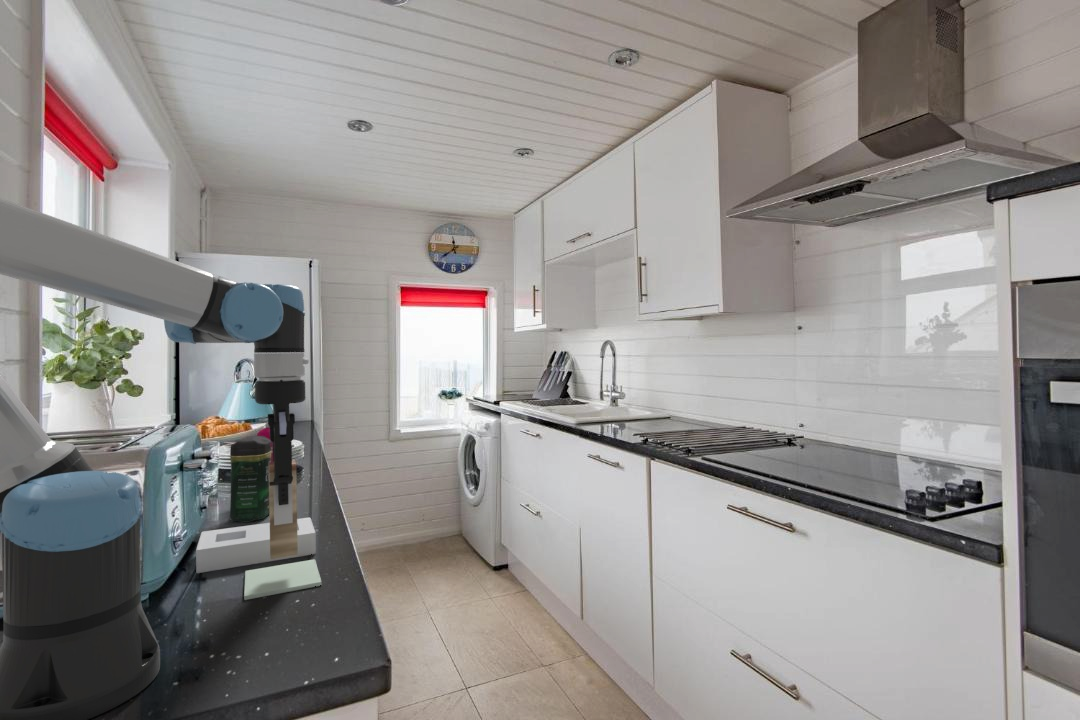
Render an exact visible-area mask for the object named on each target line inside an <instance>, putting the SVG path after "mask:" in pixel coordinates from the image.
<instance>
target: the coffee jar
mask: <svg viewBox="0 0 1080 720" xmlns="http://www.w3.org/2000/svg"><path fill="white" fill-rule="evenodd" d="M229 455H230V456H229V458H230V504H229V505H230V507H229V513H230V514H229V517H230V520H231V521H233V522H240V523H250V522H252V521H256V520H263V519H264V518H266V517H267V516H268V515H269V462H271V441H270V440H269V439H268V438H266V437H265V436H257V435H252V436H251V435H250V436H247V437H246V438H242V439H239V440H238V441H235V442H234V443H232V444H231V445H230V453H229Z"/></svg>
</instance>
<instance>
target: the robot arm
mask: <svg viewBox="0 0 1080 720" xmlns="http://www.w3.org/2000/svg"><path fill="white" fill-rule="evenodd" d="M0 275H2V276H5V277H9V278H13V279H16V280H20V281H24V282H27V283H31V284H34V285H38V286H42V287H45V288H49V289H52V290H56V291H59V292H62V293H63V292H64V293H67V294H71V295H74V296H78V297H81V298H84V299H88V300H92V301H94V302H98V303H103V304H106V305H110V306H113V307H117V308H120V309H124V310H129V311H132V312H136V313H140V314H142V315H145V316H149V317H153V318H158V319H160V320H163V324H164V329H165V333H166V335H167V337H168V338H169V340H170V341H172V342H173V343H189V344H193V345H195V344H198V343H199V344H233V343H234V344H236V343H237V344H239V343H242V344H243V343H244V344H253V345H254V350H253V352H254V353H253V365H254V368H253V371H254V372H253V373H254V376H253V377H255V378H258V381H256V383H254V393H255V395H254V397H255V398H254V399H255V400H254V401H255V403H256V404H258V405H272V413H268V414H267V422H268V425H269V427H270V441H271V442H272V445H273V462H274V477H275V478H274V482H269V486H273V487H274V525H281V524H288V523H293V511H292V481H293V476H292V460H293V455H292V454H293V450H292V449H293V446H292V445H293V443H292V441H294V439H295V438H294V437H295V436H294V435H295V434H294V424H295V423H296V419H295V418H296V417H295V414H294V412H290V404H298V403H303V402H305V401H306V381H305V380H304V379H301V378H303V377H304V376H305V375H306V374H305V372H306V369H305V365H308V364H309V361H310V360H309V359H308V358H304V357H305V316H306V312H305V301H304V294H303V291H302V290H301V289H300V287H297V286H295V285H289V284H279V283H278V284H274V283H264V284H260V283H255V282H237V281H234V280H232V279H229V278H227V277H224V276H220V275H217V274H213V273H212V272H209V271H206V270H203V269H201V268H197V267H195V266H192V265H189V264H186V263H183V262H180V261H177V260H175V259H172V258H169V257H167V256H163V255H162V254H159V253H156V252H153V251H150V250H146V249H145V248H141V247H139V246H136V245H133V244H130V243H127V242H125V241H122V240H119V239H116V238H114V237H110V236H108V235H105V234H102V233H99V232H96V231H93V230H91V229H88V228H86V227H83V226H80V225H77V224H73V223H72V222H69V221H66V220H63V219H60V218H57V217H55V216H52V215H48V214H46V213H43V212H41V211H37V210H35V209H33V208H29V207H26V206H24V205H21V204H17V203H15V202H12V201H10V200H7V199H4V198H2V197H0ZM142 509H143V503H142V499H141V497H140V489H139V486H138V484H137V482H136V481H135V480H134V479H133V478H132V477H130V476H128V475H126V474H123V473H119V472H114V471H112V472H108V471H105V470H94V469H93V468H92V466H91V465H90V464H89V463H88V461H87V460H86V459H85V457H84V456H83V454H81V452H80V451H79V450H78V449H77V447H76V446H75V444H73V443H70V442H63V441H62V442H61V441H55V440H53V439H51V437H50V436H49V435H48V434H47V432H46V431H45V430H44V428H43V427H42V426H41V425H40V424H39V422H38V421H37V420H36V418H35V417H34V416H33V414H32V413H31V412H30V411H29V409H28V407H26V405H25V404H24V403H23V401H22V400H21V399H20V398H19V396H18V395H17V393H16V392H15V391H14V390H13V388H12V387H11V386H10V385H9V383H8V382H7V381H6V380H5V377H3V376H2V375H1V373H0V559H1V566H2V567H1V568H2V613H3V614H2V617H3V618H2V619H3V634H2V635H3V636H2V637H3V639H2V643H1V645H0V720H89V719H92V718H95V717H96V716H99V715H102V714H104V713H106V712H108V711H111V710H112V709H115V708H117V707H118V706H121V705H122V704H124V703H125V702H128V701H129V700H131V699H132V698H135V696H137V695H138V694H140V693H141V692H142V691H143V690H145V689H146V688H147V687H148V686H149V685H151V684H152V682H153V681H154V680H155V678H156V677H157V676H158V674H159V672H160V668H161V650H160V649H161V648H160V645H159V642H158V639H157V638H156V635H155V633H154V631H153V629H152V627H151V624H150V623H149V620H148V618H147V615H146V614H145V611H144V609H143V606H142V574H141V573H142V572H141V571H142V564H141V561H142V560H141V558H142V557H141V554H142V553H141V551H142V550H141V515H142Z"/></svg>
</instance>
